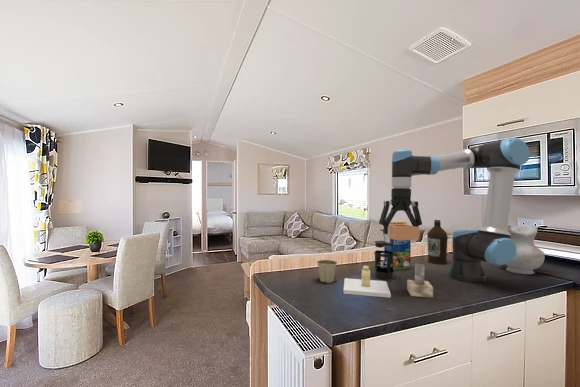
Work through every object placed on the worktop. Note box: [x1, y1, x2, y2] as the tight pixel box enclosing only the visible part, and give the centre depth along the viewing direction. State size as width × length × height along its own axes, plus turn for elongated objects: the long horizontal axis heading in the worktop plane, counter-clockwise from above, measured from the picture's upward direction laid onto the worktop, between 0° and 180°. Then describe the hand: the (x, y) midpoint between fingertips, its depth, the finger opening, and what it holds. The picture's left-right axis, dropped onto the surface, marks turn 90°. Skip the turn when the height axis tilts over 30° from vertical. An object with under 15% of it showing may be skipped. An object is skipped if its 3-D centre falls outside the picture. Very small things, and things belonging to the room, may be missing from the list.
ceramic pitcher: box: [504, 224, 546, 276], centre depth 146 cm, size 22×20×25 cm
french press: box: [373, 228, 395, 281], centre depth 135 cm, size 12×9×23 cm
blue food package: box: [383, 221, 412, 271], centre depth 151 cm, size 6×12×25 cm, turn 106°
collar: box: [382, 224, 420, 241], centre depth 114 cm, size 10×10×5 cm
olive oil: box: [426, 219, 449, 265], centre depth 165 cm, size 11×11×25 cm
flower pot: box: [316, 259, 338, 284], centre depth 128 cm, size 9×9×9 cm
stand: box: [406, 263, 434, 299], centre depth 113 cm, size 8×8×12 cm
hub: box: [343, 265, 392, 299], centre depth 118 cm, size 18×16×10 cm
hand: (400, 242), depth 114 cm, fingers closed on collar, 10 cm apart
